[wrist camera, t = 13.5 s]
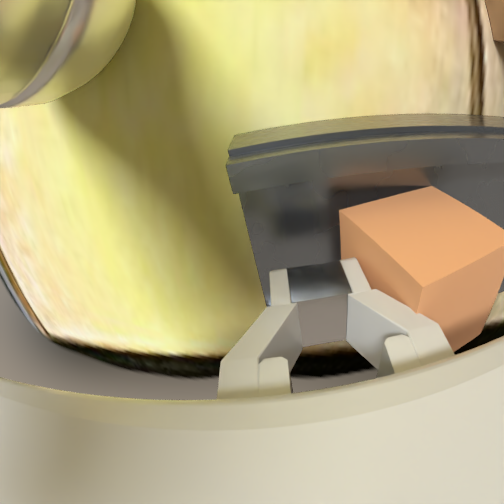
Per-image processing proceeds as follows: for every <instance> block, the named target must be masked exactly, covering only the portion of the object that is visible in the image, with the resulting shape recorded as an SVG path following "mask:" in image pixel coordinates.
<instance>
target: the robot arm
mask: <svg viewBox="0 0 504 504" xmlns="http://www.w3.org/2000/svg"><path fill="white" fill-rule="evenodd" d="M287 274H288V275H287ZM269 276H270V293H271V306H270V307H266V308H265V309H264V311H263V312H262V313H261V314H260V315H259V317H258V318H257V319H256V320H255V321H254V323H253V324H252V325H251V326H250V328H249V329H248V330H247V331H246V332H245V334H244V335H243V336H242V337H241V338H240V339H239V341H238V342H237V343H236V344H235V345H234V347H233V348H232V349H231V350H230V351H229V352H228V354H227V355H226V356H225V357H224V358H223V359H222V361H221V364H220V373H219V383H218V392H217V400H150V399H133V398H119V397H108V396H99V395H90V394H82V393H75V392H68V391H62V390H56V389H50V388H45V387H40V386H35V385H30V384H25V383H21V382H17V381H13V380H9V379H5V378H2V377H0V504H504V336H502V337H500V338H498V339H496V340H493V341H491V342H488V343H486V344H483V345H481V346H478V347H476V348H473V349H471V350H468V351H465V352H463V353H460V354H457V355H455V354H454V352H453V350H452V348H451V346H450V345H449V343H448V341H447V339H446V337H445V335H444V333H443V331H442V330H441V328H440V326H439V324H438V323H436V322H435V321H433V320H431V319H429V318H427V317H426V316H424V315H422V314H420V313H418V314H416V313H415V312H414V311H413V310H412V309H411V308H410V307H408V306H406V305H404V304H403V303H401V302H399V301H397V300H395V299H394V298H392V297H390V296H388V295H386V294H385V293H383V292H381V291H379V290H377V289H373V290H372V289H371V287H370V285H369V283H368V281H367V279H366V277H365V275H364V273H363V271H362V269H361V266H360V264H359V262H358V260H357V259H356V258H355V257H353V258H348V259H343V260H339V261H334V262H328V263H323V264H315V265H307V266H300V267H293V268H287V269H286V268H285V269H278V270H272V271H270V273H269ZM288 281H289V282H288ZM342 340H346V341H347V342H348V343H349V344H350V345H351V346H352V347H353V348H354V349H356V350H357V351H358V352H359V353H360V354H361V355H362V356H363V357H364V358H365V359H367V360H368V361H369V362H370V363H371V364H372V365H373V366H374V367H375V368H377V369H378V373H377V377H376V378H375V379H371V380H366V381H362V382H357V383H352V384H347V385H342V386H337V387H331V388H326V389H319V390H313V391H306V392H299V393H293V389H292V383H291V377H290V372H291V370H292V368H293V366H294V364H295V362H296V360H297V359H298V357H299V355H300V353H301V351H302V349H303V347H306V346H312V345H317V344H322V343H329V342H335V341H342Z"/></svg>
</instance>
